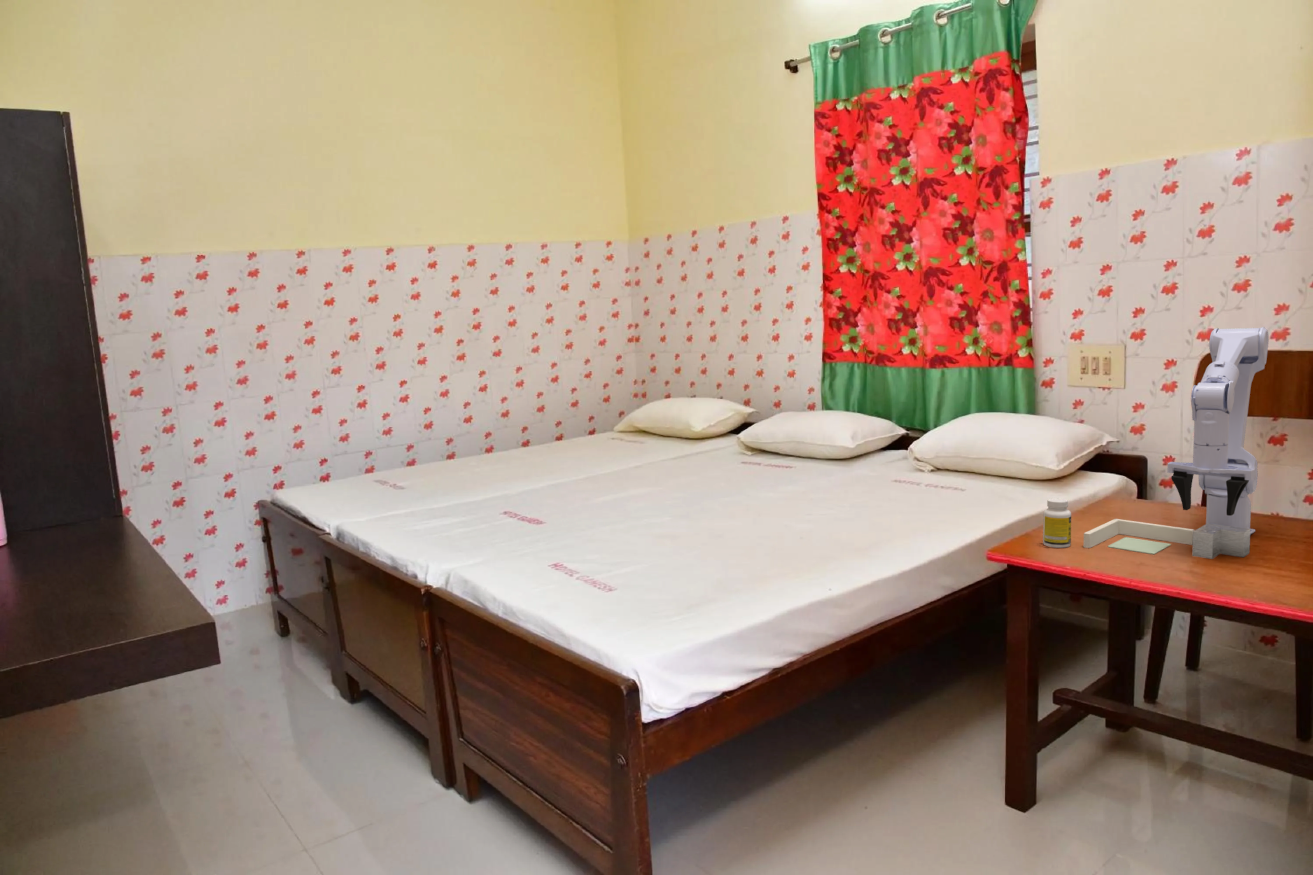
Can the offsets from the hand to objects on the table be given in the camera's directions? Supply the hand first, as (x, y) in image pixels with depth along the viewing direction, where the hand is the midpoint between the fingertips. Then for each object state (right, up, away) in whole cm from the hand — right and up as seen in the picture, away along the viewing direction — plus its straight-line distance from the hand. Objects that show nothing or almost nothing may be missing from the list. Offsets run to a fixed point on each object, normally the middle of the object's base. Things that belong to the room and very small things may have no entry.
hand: (1208, 511), depth 173 cm
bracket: (+3, -9, +1) cm, 9 cm away
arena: (-8, -8, +9) cm, 15 cm away
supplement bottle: (-24, -8, +14) cm, 29 cm away
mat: (-8, -8, +9) cm, 15 cm away
